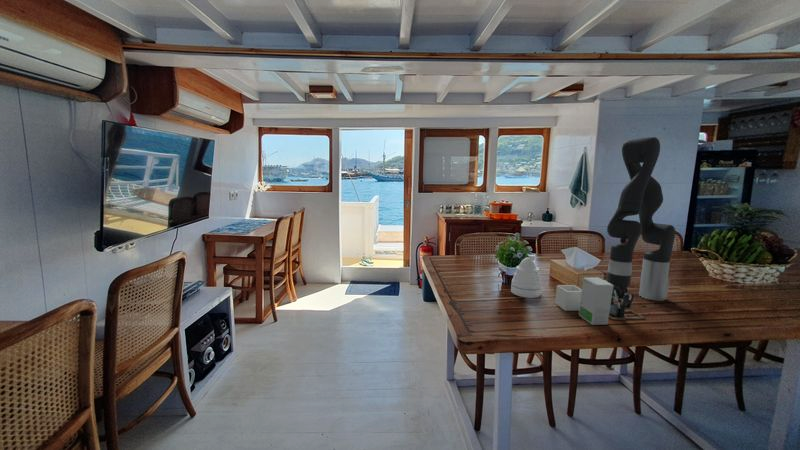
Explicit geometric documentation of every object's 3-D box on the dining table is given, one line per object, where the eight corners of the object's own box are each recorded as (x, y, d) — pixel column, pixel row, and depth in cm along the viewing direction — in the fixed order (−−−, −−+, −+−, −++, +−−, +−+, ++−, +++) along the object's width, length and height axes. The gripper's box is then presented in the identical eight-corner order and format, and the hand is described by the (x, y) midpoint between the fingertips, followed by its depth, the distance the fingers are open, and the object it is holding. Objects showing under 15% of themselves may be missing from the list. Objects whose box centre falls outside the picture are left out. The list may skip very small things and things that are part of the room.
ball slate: (616, 313, 128) (617, 302, 128) (624, 318, 124) (625, 307, 123) (605, 313, 128) (606, 302, 127) (613, 318, 124) (614, 307, 123)
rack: (631, 311, 130) (631, 310, 130) (645, 319, 123) (645, 317, 123) (599, 312, 129) (600, 310, 129) (612, 319, 122) (612, 318, 122)
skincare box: (578, 315, 126) (581, 277, 124) (594, 315, 126) (598, 276, 124) (592, 325, 118) (596, 284, 115) (609, 325, 118) (614, 284, 116)
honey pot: (544, 292, 151) (547, 254, 148) (534, 300, 142) (537, 260, 139) (517, 285, 160) (520, 250, 157) (506, 292, 150) (508, 254, 148)
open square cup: (572, 303, 138) (574, 285, 137) (583, 310, 131) (585, 291, 130) (555, 303, 138) (556, 285, 137) (565, 310, 130) (566, 291, 129)
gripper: (643, 277, 116) (638, 322, 119) (615, 266, 131) (611, 306, 133) (623, 277, 116) (618, 322, 119) (597, 266, 130) (593, 306, 133)
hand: (614, 313), depth 126 cm, fingers open, 5 cm apart
